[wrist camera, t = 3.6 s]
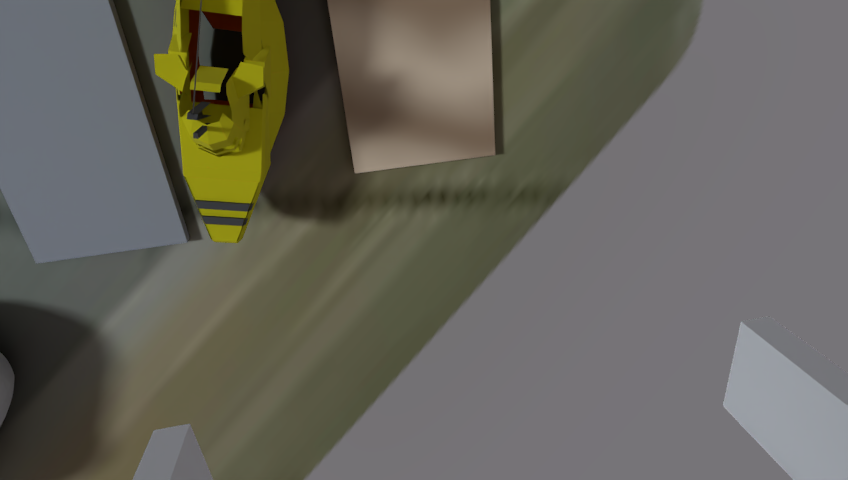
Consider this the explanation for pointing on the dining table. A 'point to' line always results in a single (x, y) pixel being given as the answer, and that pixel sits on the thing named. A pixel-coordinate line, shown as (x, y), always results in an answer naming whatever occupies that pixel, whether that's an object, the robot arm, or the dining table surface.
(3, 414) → the decorative stone
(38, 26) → the pad one
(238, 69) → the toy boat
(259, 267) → the dining table surface
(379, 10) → the pad two
